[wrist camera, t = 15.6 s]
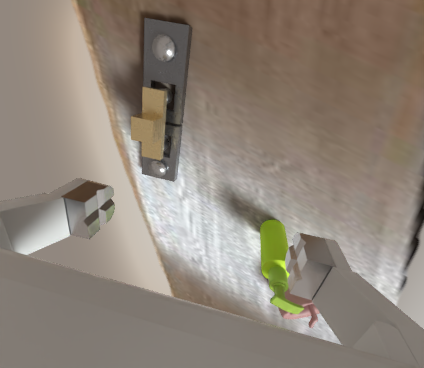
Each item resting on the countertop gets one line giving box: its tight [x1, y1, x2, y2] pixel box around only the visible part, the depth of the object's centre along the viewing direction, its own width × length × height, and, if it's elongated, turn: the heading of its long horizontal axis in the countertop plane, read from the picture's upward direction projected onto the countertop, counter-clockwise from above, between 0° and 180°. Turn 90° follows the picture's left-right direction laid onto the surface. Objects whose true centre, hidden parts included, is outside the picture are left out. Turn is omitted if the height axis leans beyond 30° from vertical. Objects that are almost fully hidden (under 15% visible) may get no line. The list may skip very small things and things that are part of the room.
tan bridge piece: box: [131, 87, 173, 160], centre depth 41 cm, size 13×4×10 cm, turn 170°
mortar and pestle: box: [278, 287, 320, 328], centre depth 54 cm, size 12×12×11 cm
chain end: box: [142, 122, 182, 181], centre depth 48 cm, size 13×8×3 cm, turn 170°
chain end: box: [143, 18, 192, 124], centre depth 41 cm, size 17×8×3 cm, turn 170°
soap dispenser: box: [260, 220, 304, 314], centre depth 44 cm, size 6×7×20 cm
